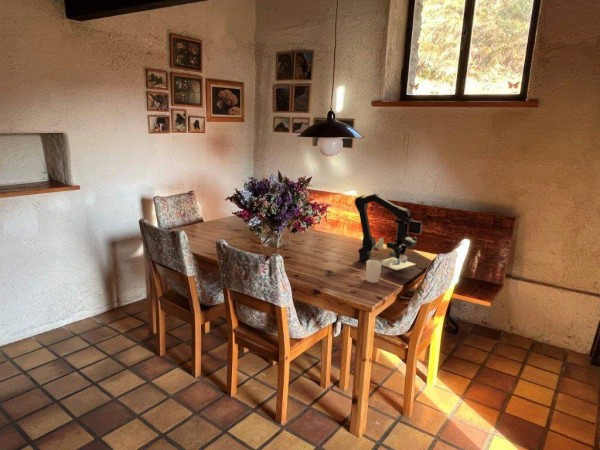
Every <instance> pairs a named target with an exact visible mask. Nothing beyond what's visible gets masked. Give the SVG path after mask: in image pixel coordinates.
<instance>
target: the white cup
mask: <svg viewBox="0 0 600 450" xmlns="http://www.w3.org/2000/svg"><path fill="white" fill-rule="evenodd" d="M365 266H366V267H365V273H366V274H365V275H366V277H365V279H366V282H368V283H373V284H374V283H378V282H380V279H381V272H382V271H381V270H382V266H383V265H382V262H381V261H380V260H377V259H371V260H368V261H366V263H365Z"/></svg>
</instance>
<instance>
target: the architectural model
mask: <svg viewBox="0 0 600 450" xmlns="http://www.w3.org/2000/svg"><path fill="white" fill-rule="evenodd" d="M375 246H376V247H375V248H376V250H378V251H379V250H381V249H383V248H384V237H379V238H378V241H376V244H375Z"/></svg>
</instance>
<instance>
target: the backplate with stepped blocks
mask: <svg viewBox="0 0 600 450" xmlns="http://www.w3.org/2000/svg"><path fill="white" fill-rule="evenodd" d="M380 262H382V265H381V266H383V267H386V268H388V269H389V268H390V269H392V270H395V271H400V270H401V269H406V268H408V267H413V266H415V265H416V263H413V262H412V261H408V256H406V260H403V261H402V260H399V259H397V258H395V257H390V258H386V259H382V260H381V261H380Z"/></svg>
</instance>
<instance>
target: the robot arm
mask: <svg viewBox="0 0 600 450" xmlns="http://www.w3.org/2000/svg"><path fill="white" fill-rule="evenodd" d="M369 203H376V204H378V205H379V206H381V207H382V208H385V209H386V210H388V211H390V212H391V213H392V214H393V216H395V217H396V220H395V221H394V222H393V223H394V224H397V226H396V227H397V228H396V232H394V235H396V237H395V239H394V241H389V242H387V243H386V248H388V249H392V250H393V252H395V254H396V257H397V259H399V257H400V254H403V255H405V252H406V251H407V249H408V248H409V249H411V248H414V247H415V246H416V245H417V244H418V238H417V237H416V236H414V237H410V234H416V235H417V234H418V235H421V234H422V231H423V224H422V223H423V222H422V221H417V220H414V219H413V217H412V216H411V212H410V210H409V209H408V208H405V207H403V206H399V205H396V204H395V203H393V202H391V201H390V200H388V199H386V198H385V197H383V196H381V195H380V194H378V193H374V194H370V195H367V196H365V195H360V196H358V197H356V198H355V200H354V206H355V207H356V208H355V209H356V210H357V211H358V214H359V218H360V226H361V231H362V236H363V237H362V246H361V248H359V249H358V254H359V256H358V261H359V262H360V263H362V264H363V263H364V264H366V261H368V260H372V259H371V258H372V257H371V256H372V254H371V253H372V251H373V250H374V249H375V248H376V245H375V244H376V243H377V241H376V237H375V236H374V237H373V236H372V232H371V228H370V221H369V215H368V206H369ZM408 232H409V233H408Z"/></svg>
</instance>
